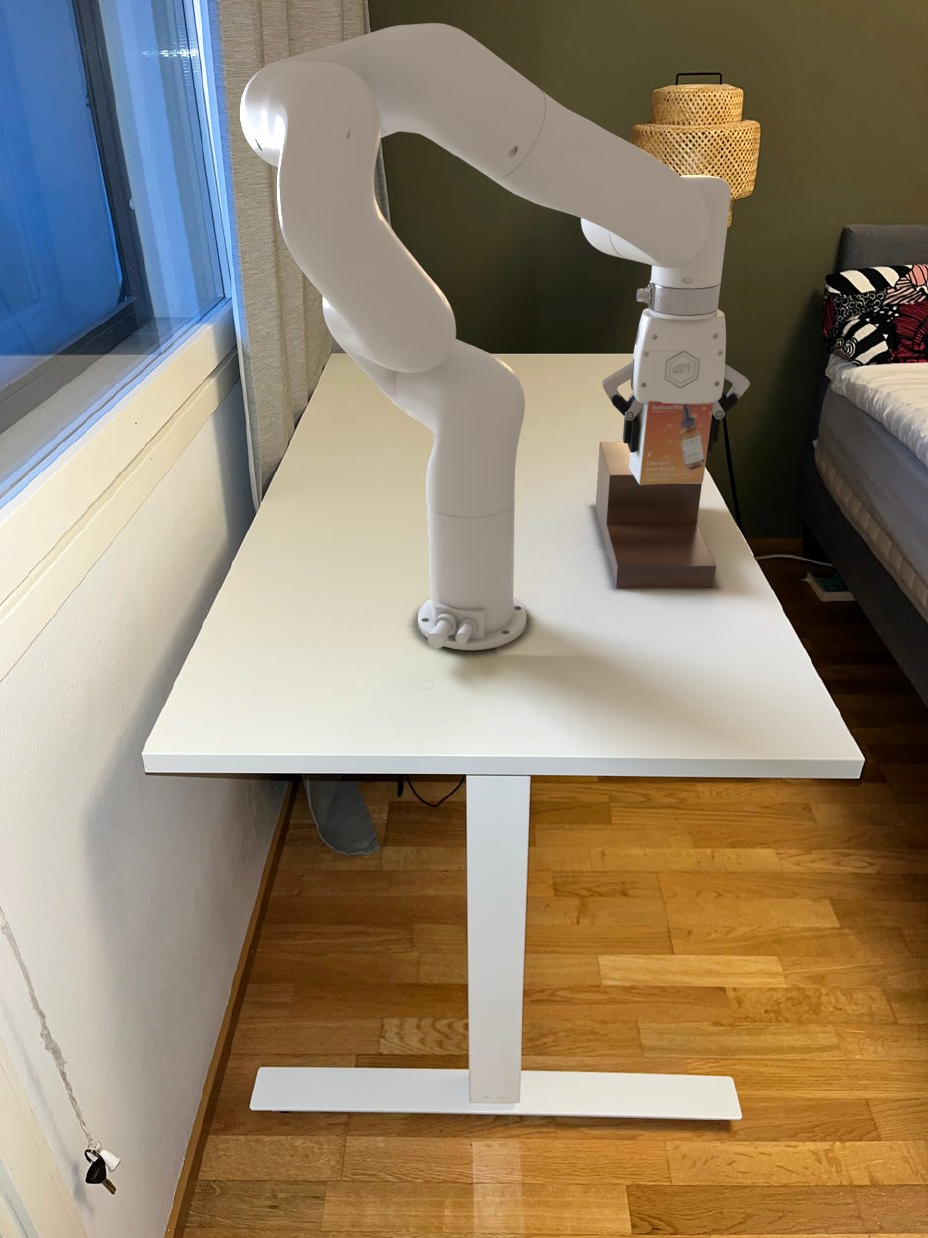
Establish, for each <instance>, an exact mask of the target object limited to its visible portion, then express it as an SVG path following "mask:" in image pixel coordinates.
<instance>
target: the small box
mask: <svg viewBox="0 0 928 1238" xmlns="http://www.w3.org/2000/svg"><path fill="white" fill-rule="evenodd" d="M713 404H714V403H710V404H669V403H662V402H659V401H648V402H647V404H643V408H642V409H641V410H640V412H639V413H638V414H637V418H638V420H639V430H638V442H637V451H635V453H630V463H629V468H630V470H631V472H632V473H633V475H634V477H635V478H636V480H637V482H638V483H639V485H648V484H701V483H702V484H703V483H704V479H705V478H704V477H705V470H706V462H707V455H708V452H707V449H708V441H709V434H710V426H711V418H712V411H713Z"/></svg>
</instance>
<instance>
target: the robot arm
mask: <svg viewBox="0 0 928 1238" xmlns="http://www.w3.org/2000/svg"><path fill="white" fill-rule="evenodd" d="M239 114H240V124H241V128H242V131H243V134H244V136H245V139H246V140H247V143H248V144H249V145H250V147H251V148H252V150H253V151H254V153H256V154H257V156H259V157H260V158H261V159H262V160H264V161H265V162H266V163H268V164H269V165H271V166H273V167H276V168H277V169H278V170H277V180H276V190H277V191H276V192H277V193H276V194H277V195H276V196H277V211H278V219H279V225H280V230H281V233H282V237H283V240H284V242H285V245H286V247H287V249H288V251H289V253H290V255H291V256H292V258H293V259H294V261H295V263H296V264H297V266H298V267H299V269H300V270H301V271H302V273H303V274H304V275H305V277H306V278H307V279H308V280H309V282H311V284H312V285H313V286H314V287H315V288H316V290H317V291H318V292H319V293H320V294H321V296H322V313H323V317H324V321H325V324H326V327H327V328H328V330H329V332H330V334H331V336H332V337H333V339H334V340H335V342H337V344H338V345H339V346H340V347H341V349H342V350H343V351H344V352H345V353H346V354H347V355H348V357H349V358H350V359H351V360H352V361H353V362H354V363H355V364H356V365H357V366H358V367H359V368H360V369H361V371H362V372H364V374H365V375H366V376H367V377H368V378H369V379H370V380H371V381H372V382H373V383H374V385H376V387H377V388H378V389H379V390H380V391H381V392H382V393H383V394H384V395H385V396H386V397H387V398H388V399H389V400H390V401H391V402H392V403H393V404H394V405H395V406H396V407H398V409H399V410H401V411H402V412H403V413H405V414H406V415H407V416H409V417H410V418H412V419H414V420H415V421H417V422H418V423H420V424H422V425H423V426H425V427H426V428H427V429H428V430H430V431H431V432H432V434H433V445H432V450H431V454H430V457H429V459H428V462H427V463H428V464H427V468H426V475H425V500H426V513H427V538H428V561H429V562H428V563H429V566H428V567H429V589H430V591H429V593H430V598H429V599H428V600H426V601H425V602H424V603H423V604H422V605H421V607H420V608H419V610H418V613H417V624H418V629H419V630H420V632H421V634H422V635H423V636H424V637H426V639H427V643H428V645H429V646H430V647H432V648H433V649H437V650H438V649H441V648H443V647H445V648H449V649H453V650H459V651H460V650H461V651H483V650H490V649H494V648H495V649H496V648H497V647H502V646H504V645H506V644H508V643H511V642H512V641H514V640H515V639H517V638H518V637H519V636H520V635H521V634H522V633H523V632H524V631H525V628H526V626H527V611H526V608H525V606H524V605H523V604H522V603H521V602H520V601H519V600H518V599H516V598H515V597H514V583H515V582H514V575H515V572H514V571H515V565H514V564H515V509H516V508H515V502H516V501H515V491H516V490H515V486H516V485H515V484H516V464H517V463H516V462H517V453H518V447H519V441H520V437H521V432H522V428H523V424H524V419H525V412H526V398H525V392H524V389H523V385H522V383H521V381H520V379H519V377H518V375H517V374H516V373H515V372H514V370H513V369H512V368H511V367H510V366H509V365H508V364H507V363H505V362H504V361H503V360H502V359H500V358H499V357H497V356H496V355H494V354H492V353H490V352H487V351H485V350H483V349H481V348H480V347H479V348H478V347H477V346H474V345H472V344H469V343H466V342H464V341H462V340H459V339H457V325H456V318H455V314H454V311H453V309H452V307H451V304H450V303H449V301H448V299H447V297H446V295H445V294H444V292H443V291H442V290H441V289H440V287H439V286H438V285H437V283H435V281H434V280H433V279H432V278H431V277H430V276H429V275H428V273H427V272H426V271H425V270H424V269H423V267H422V266H421V265H420V264H419V262H418V261H417V260H416V258H415V257H414V256H413V255H412V253H411V252H410V251H409V250H408V249H407V246H405V245H404V244H403V242H402V241H401V240H400V238H399V237H398V235H397V234H396V233H395V231H394V230H393V228H392V227H391V225H390V223H389V222H388V221H387V220H386V218H385V217H384V215H383V213H382V211H381V208H380V207H379V204H378V201H377V199H376V193H375V170H376V163H377V157H378V153H379V148H380V143H381V139H383V138H384V137H386V136H390V135H392V134H395V133H399V132H403V133H411V134H413V133H414V134H419V135H421V136H423V137H425V138H427V139H429V140H431V141H432V142H434V143H435V144H437V145H438V146H440V147H441V148H443V149H444V150H446V151H448V152H449V153H450V154H452V155H453V156H455V157H457V158H459V159H460V160H462V161H464V162H465V163H467V164H468V165H470V166H471V167H473V168H474V169H476V170H478V171H479V172H480V173H482V174H483V175H485V176H487V178H489V179H491V180H492V181H494V182H495V183H497V184H498V185H500V186H501V187H502V188H504V189H505V190H507V191H509V192H511V194H514V195H515V196H518V197H521V198H522V199H525V200H527V201H530V202H531V203H533V204H536V205H539V206H542V207H544V208H548V209H552V210H554V211H558V212H562V213H566V214H569V215H572V216H574V217H577V218H580V224H581V229H582V232H583V235H584V237H585V238H586V240H587V241H588V242H589V243H590V245H591V246H592V247H594V248H595V249H596V250H597V251H600V252H602V253H604V254H606V255H609V256H613V257H618V258H621V259H625V260H628V261H629V260H630V261H634V262H638V263H642V264H647V265H650V266H651V274H650V280H649V283H648V284H647V286H646V287H644V288H637V290H636V297H635V298H636V302H637V303H638V302H640V303H641V302H642V303H644V304H646V305H647V306H648V308H644V309H643V310H642V313H641V316H640V319H639V324H638V327H637V331H636V337H635V343H634V348H633V355H632V360H631V362H629V363H628V364H626V365H625V366H624V367H622V368H620V369H619V370H617V371H615V372H613V373H612V374H610V375H609V376H607V377H606V378H604V379H602V381H601V385H602V388H603V390H604V391H605V394H606V395H607V397H608V399H609V400H610V402H611V404H612V405H613V406H614V408H615V409H616V410H617V411H618V412H619V413H620V414H621V415H622V416H623V429H622V430H623V433H622V442H624V443H627V444H628V447H629V450H630V453H635V451H637V442H638V430H639V420H638V418H637V414H638V413H639V412H640V410H641V409H642V408H643V404H647V402H648V401H659V402H662V403H669V404H710V403H714V404H713V411H712V418H711V426H710V434H709V441H708V449H707V453H710V452H713V447H714V443H717V442H718V439H719V432H720V423H721V420H722V419H723V418H724V417H725V415H726V413H727V412H729V411H730V410H731V409H732V408H733V407H734V406H736V405H737V404H738V402H739V399H740V398H741V397H742V396H743V395H744V393H745V392H746V391H747V390H748V389H749V387H750V386H751V381H750V380H749V379H748V378H747V377H746V376H745V375H743V374H742V373H740V372H738V371H737V370H735V369H734V368H732V367H731V366H729V365H728V364H726V349H727V328H726V314H725V313H724V312H723V311H721V309H719V300H720V293H721V283H722V274H723V266H724V259H725V258H724V257H725V249H726V242H727V241H726V240H727V233H728V224H729V215H730V208H731V197H732V196H731V195H732V192H731V191H732V189H731V186H730V184H729V182H727V180H726V179H724V178H721V177H718V176H713V175H703V174H702V175H701V174H691V175H690V174H688V175H686V174H685V175H679V173H677V172H675V171H674V170H673V169H672V168H671V167H669V166H668V165H667V164H665V163H664V162H663V161H661V160H660V159H658V157H655V156H654V155H652V154H651V153H649V152H647V151H645V150H644V149H643V148H640V147H638V146H636V145H635V144H633V143H632V142H629V141H627V140H625V138H622V137H621V136H619V135H616V134H614V133H612V132H611V131H609V130H607V129H605V128H603V127H601V126H600V125H599V124H597V123H595V122H593V121H591V120H590V119H588V118H586V117H584V116H582V115H580V114H578V113H576V112H574V111H572V110H570V109H568V108H567V107H565V106H563V105H562V103H559V102H558V101H556V100H555V99H554V98H553V97H551V96H550V95H549V94H547V93H546V92H545V91H544V90H542V89H540V88H539V87H538V85H535V84H534V83H533V82H531V81H530V80H529V79H527V78H526V77H525V76H523V75H522V74H521V73H520V72H518V71H517V70H516V69H514V68H513V67H512V66H511V65H509V64H508V63H507V62H506V61H504V60H503V59H501V58H500V57H499V56H497V54H495V53H494V52H492V51H491V50H490V49H489V48H487V47H486V46H485V45H484V44H482V43H481V42H479V41H478V40H477V39H475V38H474V37H472V36H471V35H469V34H468V33H467V32H466V31H463V29H460V28H457V27H455V26H452V25H449V24H446V23H438V22H430V23H428V22H427V23H416V24H415V23H414V24H400V25H393V26H388V27H384V28H381V29H379V30H375V31H373V32H369V33H367V34H364V35H360V36H356V37H354V38H350V39H347V40H345V41H341V42H338V43H334V44H331V45H328V46H325V47H321V48H318V49H314V50H310V51H308V52H304V53H301V54H297V55H294V56H290V57H287V58H283V59H280V60H276V61H273V62H270V63H269V64H267V65H265V66H263V67H262V68H261V69H259V70H258V71H256V73H255V74H254V75H252V77H251V78H250V79H249V81H248V83H247V84H246V86H245V88H244V91H243V94H242V97H241V100H240V108H239ZM629 380H630V389H631V391H632V394H630V396H629V397H628V399H627V400H626V399H625V397H624V396H622V395H621V393H620V392H619V390H618V387H619V386H621V385H623V384H624V383H626V382H628V381H629ZM725 380H726V381H728V382H730V383H731V384H732V385H731V387H730V389H729V390H728V391H726V392H725V393H724V394H723V391H724V384H725Z"/></svg>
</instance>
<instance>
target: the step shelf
mask: <svg viewBox="0 0 928 1238" xmlns="http://www.w3.org/2000/svg"><path fill="white" fill-rule="evenodd" d="M597 461H598V463H597V478H596V479H597V480H596V495H595V510H596V513H597V517H598V522H599V525H600V530H601V534H602V538H603V541H604V544H605V550H606V554H607V558H608V563H609V565H610V569H611V573H612V577H613V581H614V585H615V589H644V588H645V589H646V588H647V589H650V588H653V589H655V588H657V589H659V588H667V589H668V588H669V589H670V588H671V589H672V588H714V585H715V581H716V580H715V579H716V572H717V565H716V562H715V560H714V557H713V556H712V553H711V550H710V549H709V547H708V545H707V542H706V540H705V537H704V536H703V534H702V533H703V532H702V531H701V529H700V527H699V525H698V519H699V512H700V511H699V510H700V503H701V502H700V501H701V495H702V486H703V482H702V483H701V484H648V485H639V483H638V482H637V480H636V478H635V477H634V475H633V473H632V472H631V470H630V468H629V463H630V450H629V447H628V444H627V443H624V442H623V441H599V447H598V460H597Z"/></svg>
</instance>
